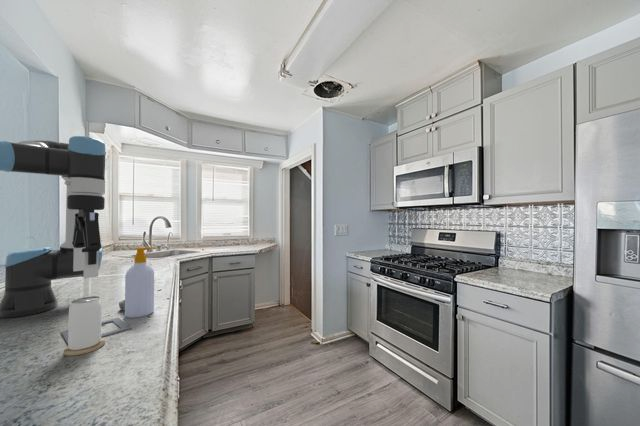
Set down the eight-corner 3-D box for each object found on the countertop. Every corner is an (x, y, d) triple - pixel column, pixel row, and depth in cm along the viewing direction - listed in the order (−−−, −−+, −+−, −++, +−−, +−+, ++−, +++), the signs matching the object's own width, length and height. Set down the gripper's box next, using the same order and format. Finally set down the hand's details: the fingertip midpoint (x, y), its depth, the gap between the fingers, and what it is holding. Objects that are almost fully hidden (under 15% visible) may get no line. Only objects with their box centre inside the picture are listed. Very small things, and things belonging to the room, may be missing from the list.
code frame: (60, 332, 77) (60, 331, 77) (118, 318, 88) (118, 317, 88) (68, 346, 69) (69, 345, 69) (131, 329, 80) (131, 327, 80)
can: (81, 352, 64) (82, 303, 65) (61, 350, 66) (62, 302, 66) (107, 340, 71) (108, 296, 71) (88, 338, 72) (89, 295, 72)
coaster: (61, 349, 67) (61, 346, 67) (100, 338, 73) (100, 336, 74) (66, 359, 62) (66, 356, 62) (108, 346, 69) (108, 344, 69)
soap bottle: (151, 316, 90) (152, 248, 91) (120, 319, 88) (121, 249, 88) (159, 308, 99) (160, 246, 99) (130, 311, 96) (131, 246, 97)
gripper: (60, 196, 75) (58, 270, 74) (76, 190, 59) (75, 283, 59) (93, 198, 81) (92, 266, 80) (117, 193, 65) (115, 277, 65)
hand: (85, 273), depth 69 cm, fingers open, 13 cm apart
